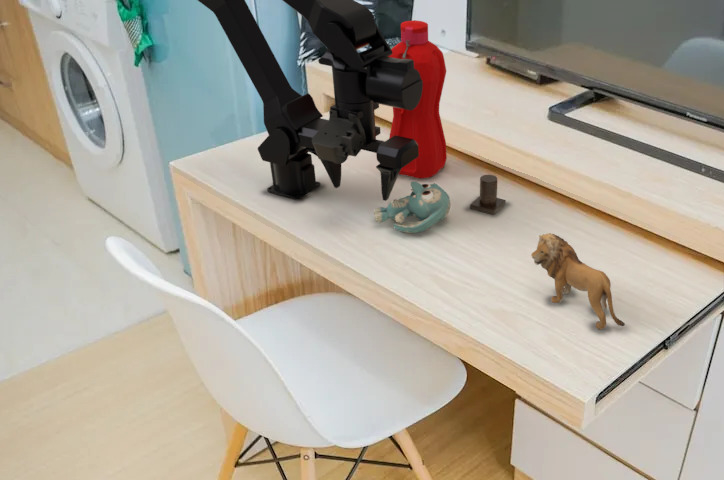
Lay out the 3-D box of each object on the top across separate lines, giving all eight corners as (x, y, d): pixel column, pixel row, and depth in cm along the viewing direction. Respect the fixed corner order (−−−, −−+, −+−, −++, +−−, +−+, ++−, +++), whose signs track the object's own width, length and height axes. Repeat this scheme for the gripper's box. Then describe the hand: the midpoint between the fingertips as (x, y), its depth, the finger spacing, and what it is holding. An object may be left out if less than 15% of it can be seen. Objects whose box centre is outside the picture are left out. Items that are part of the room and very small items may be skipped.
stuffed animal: (365, 177, 124) (439, 160, 125) (376, 216, 128) (448, 199, 129) (370, 208, 116) (449, 190, 116) (381, 249, 120) (458, 231, 121)
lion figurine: (522, 294, 108) (526, 237, 103) (545, 279, 111) (550, 222, 106) (613, 337, 101) (622, 278, 95) (635, 320, 104) (645, 261, 99)
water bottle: (377, 177, 136) (368, 28, 122) (406, 154, 145) (401, 11, 130) (425, 188, 134) (422, 36, 119) (452, 163, 142) (452, 19, 127)
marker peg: (469, 208, 128) (470, 180, 125) (481, 198, 131) (482, 170, 128) (494, 215, 127) (495, 186, 124) (505, 204, 130) (507, 176, 127)
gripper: (268, 102, 114) (282, 200, 123) (377, 127, 108) (383, 228, 117) (314, 80, 122) (324, 174, 131) (419, 102, 116) (421, 198, 125)
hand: (361, 193), depth 126 cm, fingers open, 9 cm apart
